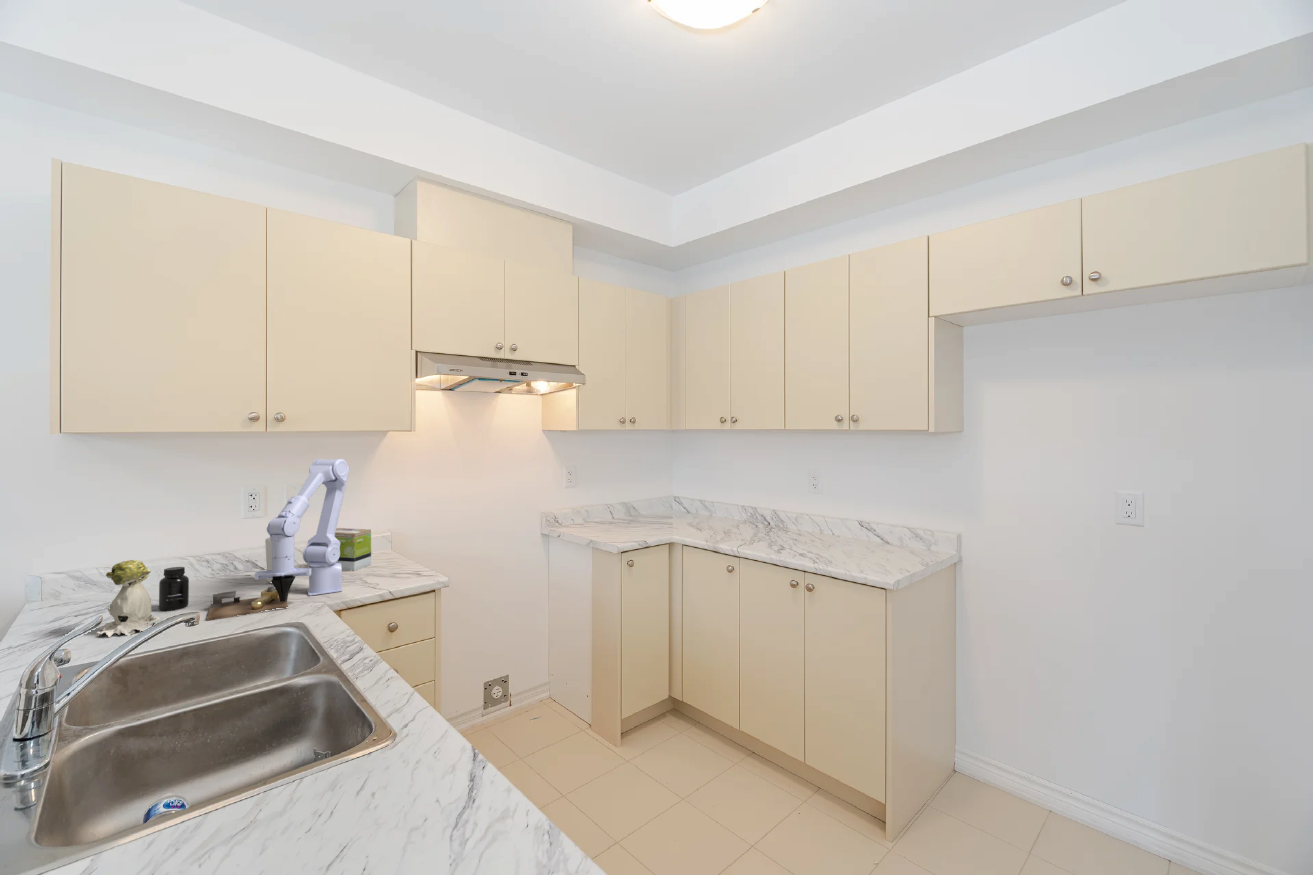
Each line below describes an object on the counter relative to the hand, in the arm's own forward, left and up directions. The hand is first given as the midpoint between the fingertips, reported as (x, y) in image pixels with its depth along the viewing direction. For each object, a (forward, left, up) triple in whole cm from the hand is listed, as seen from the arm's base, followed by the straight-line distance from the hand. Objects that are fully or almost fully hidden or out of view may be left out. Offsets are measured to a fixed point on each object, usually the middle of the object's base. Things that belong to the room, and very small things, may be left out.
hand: (283, 600), depth 172 cm
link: (+5, -3, 0) cm, 6 cm away
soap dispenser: (0, -35, -2) cm, 35 cm away
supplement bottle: (+27, -17, -2) cm, 32 cm away
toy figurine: (+35, 0, -2) cm, 35 cm away
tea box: (-22, -45, -2) cm, 50 cm away
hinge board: (+9, -4, -1) cm, 9 cm away
